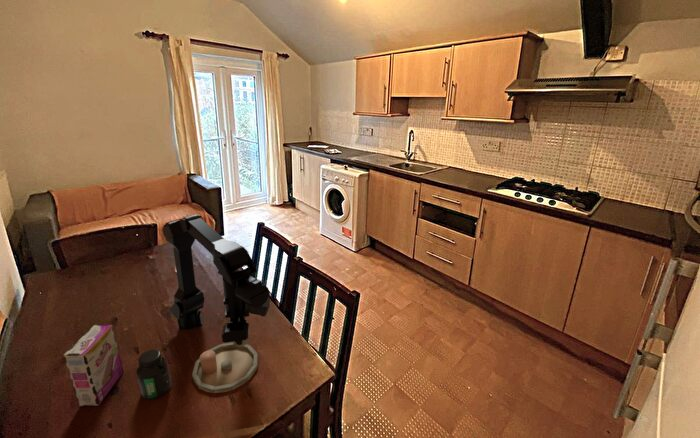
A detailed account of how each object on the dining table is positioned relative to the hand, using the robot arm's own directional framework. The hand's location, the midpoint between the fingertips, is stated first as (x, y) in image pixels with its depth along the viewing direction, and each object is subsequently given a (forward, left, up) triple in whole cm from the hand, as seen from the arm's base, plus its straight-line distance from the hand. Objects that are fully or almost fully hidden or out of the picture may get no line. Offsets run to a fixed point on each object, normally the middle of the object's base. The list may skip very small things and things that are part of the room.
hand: (240, 339), depth 91 cm
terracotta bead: (-9, 0, -9) cm, 13 cm away
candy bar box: (-35, 0, -10) cm, 37 cm away
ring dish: (-4, 0, -10) cm, 11 cm away
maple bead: (0, 0, -1) cm, 1 cm away
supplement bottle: (-21, -4, -10) cm, 24 cm away
